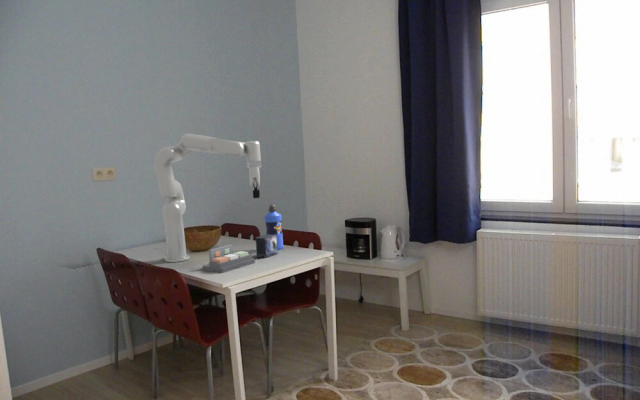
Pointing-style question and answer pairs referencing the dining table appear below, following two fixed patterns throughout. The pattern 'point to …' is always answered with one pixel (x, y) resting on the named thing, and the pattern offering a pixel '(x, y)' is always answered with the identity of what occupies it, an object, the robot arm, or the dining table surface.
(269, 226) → the water bottle
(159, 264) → the dining table surface
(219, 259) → the terracotta key
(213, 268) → the keypad
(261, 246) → the small box
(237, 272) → the dining table surface
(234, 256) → the grey key
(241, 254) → the sage key
